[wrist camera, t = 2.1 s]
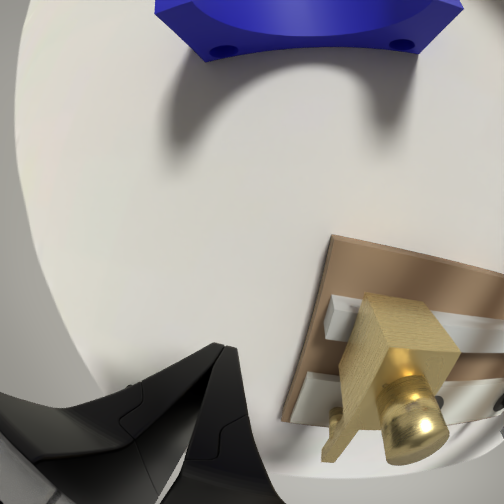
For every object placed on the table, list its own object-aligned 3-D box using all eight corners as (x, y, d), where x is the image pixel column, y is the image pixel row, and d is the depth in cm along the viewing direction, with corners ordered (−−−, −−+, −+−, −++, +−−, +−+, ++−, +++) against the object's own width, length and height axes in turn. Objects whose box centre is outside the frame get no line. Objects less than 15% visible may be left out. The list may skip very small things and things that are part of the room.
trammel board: (555, 289, 10) (573, 302, 8) (492, 408, 14) (501, 426, 12) (331, 234, 13) (338, 248, 11) (282, 409, 17) (278, 438, 14)
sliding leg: (415, 293, 11) (491, 398, 4) (348, 429, 14) (352, 523, 7) (360, 283, 11) (410, 404, 4) (305, 425, 14) (295, 523, 8)
